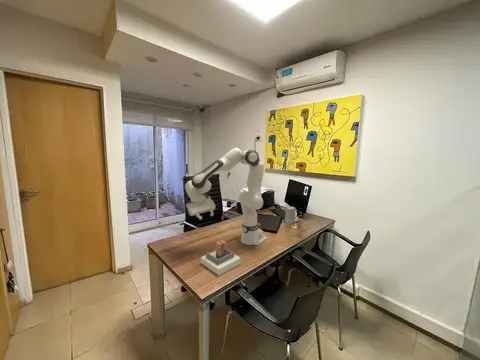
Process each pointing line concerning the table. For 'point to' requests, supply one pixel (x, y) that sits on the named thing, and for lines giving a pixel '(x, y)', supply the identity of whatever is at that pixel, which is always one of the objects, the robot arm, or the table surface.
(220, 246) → the block
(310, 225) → the table surface
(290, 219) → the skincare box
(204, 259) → the bay dock
